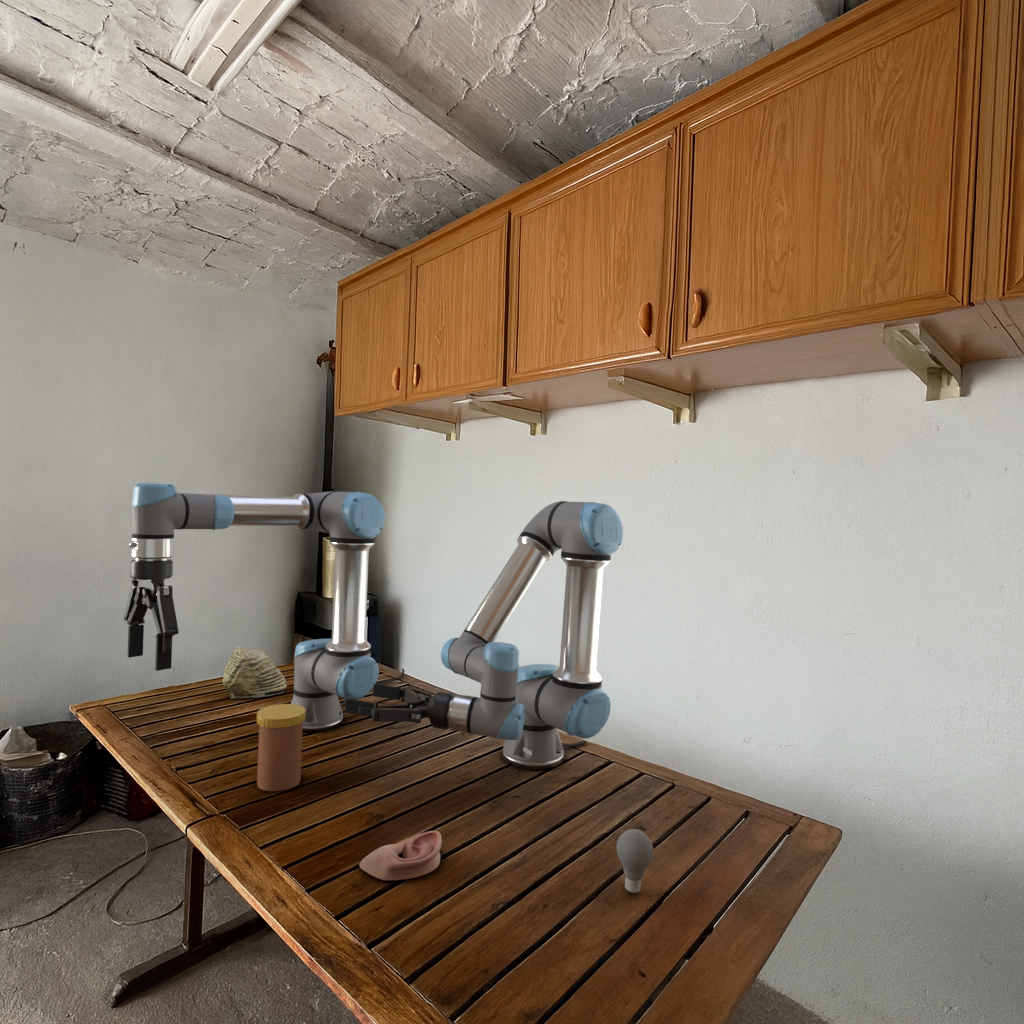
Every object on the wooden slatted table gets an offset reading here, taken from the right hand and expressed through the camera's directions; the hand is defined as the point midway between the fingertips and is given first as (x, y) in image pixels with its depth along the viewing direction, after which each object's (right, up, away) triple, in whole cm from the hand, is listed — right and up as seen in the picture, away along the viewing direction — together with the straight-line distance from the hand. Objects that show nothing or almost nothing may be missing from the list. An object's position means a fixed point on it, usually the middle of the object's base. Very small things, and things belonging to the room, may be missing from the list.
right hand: (360, 697), depth 140 cm
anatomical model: (+14, -20, -30) cm, 39 cm away
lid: (-17, -3, -1) cm, 18 cm away
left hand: (-41, +10, -11) cm, 43 cm away
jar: (-18, -18, -1) cm, 26 cm away
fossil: (-47, -16, +58) cm, 76 cm away
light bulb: (+54, -22, -35) cm, 68 cm away
